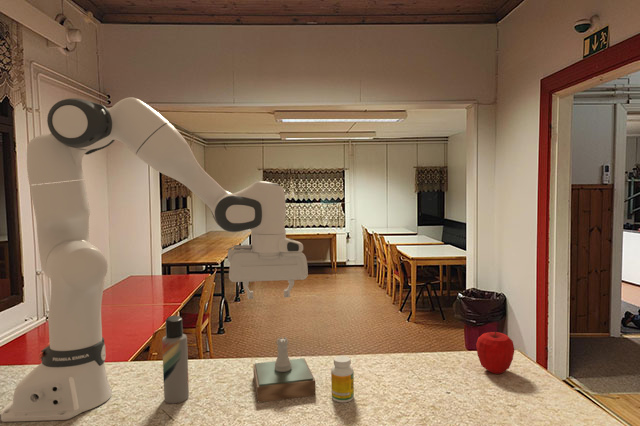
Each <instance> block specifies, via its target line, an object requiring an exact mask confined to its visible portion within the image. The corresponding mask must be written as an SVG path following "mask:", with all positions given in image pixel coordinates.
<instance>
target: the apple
mask: <svg viewBox="0 0 640 426" xmlns="http://www.w3.org/2000/svg"><path fill="white" fill-rule="evenodd" d="M475 346H476V347H475V348H476V353H477V357H478V360H479V362H480V365H481V366H482V368H483V369H485V370H487V371H488V372H489V373H491V374H495V375H499V374H504V372H506V371H507V370H508V369H510V367H511V365H512V363H513V362H512V361H513V360H514V354H515V346H514V341H513V340H512V339H511V338H510V336H508V335H507V334H505V333H502V332H498V331H489V332H484V333H482V334H481V335H480V336H478V338H477V341H476V343H475Z"/></svg>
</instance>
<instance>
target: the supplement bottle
mask: <svg viewBox="0 0 640 426" xmlns="http://www.w3.org/2000/svg"><path fill="white" fill-rule="evenodd" d="M351 364H352V362H351V358H350V356H347V355H338V356H335V357H334V358H333V366H332V367H331V369H330V371H331V372H330V375H331V376H330V377H331V383H330V384H331V386H330V388H331V392H330V393H331V399H333V401H335V402H336V403H337V402H338V403H343V404H344V403H348V402H352V401H353V399H355V391H354V390H355V389H354V388H355V387H354V386H355V385H354V383H355V381H354V380H355V379H354V378H355V377H354V376H355V375H354V374H355V373H354V368H353V367H352V365H351Z"/></svg>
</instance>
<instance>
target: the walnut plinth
mask: <svg viewBox="0 0 640 426" xmlns="http://www.w3.org/2000/svg"><path fill="white" fill-rule="evenodd" d="M290 361H291V366H292V368H291V369H290V370H289V371H288V372H277V371H276V370H275V362H276V360H273V361H265V362H264V361H263V362H255V364H253V365H252V366H253V381H254V388H255V392H256V399H257V403H263V402H270V401H279V400H285V399H286V400H287V399H295V398H301V397H311V396H316V395H317V394H316V393H317V392H316V390H317V389H316V379H315V377H314V375H313V373H312V370H311V368H310V367H309V365H308V362H307V361H306V359H305V358H294V359H290Z"/></svg>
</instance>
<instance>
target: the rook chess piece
mask: <svg viewBox="0 0 640 426" xmlns="http://www.w3.org/2000/svg"><path fill="white" fill-rule="evenodd" d="M289 343H290V342H289V340H288V338H287V337H278V338H277V340H276V345H277V358H276V360H275V361H276V362H275V370H276V371H277V372H288V371H289V370H290V369H291V368H292V366H291V361H290V360H291V359H290V357H289V353H288V352H289V351H288V349H289V347H288V345H289Z"/></svg>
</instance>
